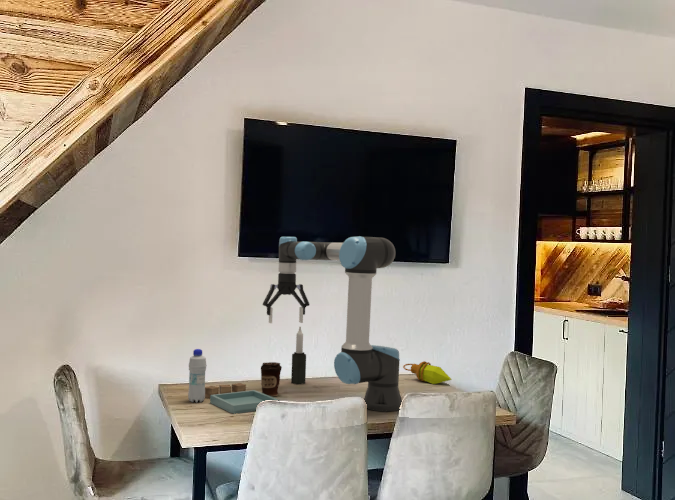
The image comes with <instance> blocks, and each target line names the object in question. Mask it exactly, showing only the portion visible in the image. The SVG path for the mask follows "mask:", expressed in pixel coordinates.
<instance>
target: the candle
mask: <svg viewBox="0 0 675 500" xmlns="http://www.w3.org/2000/svg"><path fill="white" fill-rule="evenodd" d="M298 327H299V328H298V331H297V333H296V335H295V336H296V338H295V339H296V341H295V342H296V343H295V351H294V352H293V353H292V355H291V374H290V375H291V379H290V381H291V384H294V385H304V384H306V378H307V377H306V375H307V372H306V371H307V366H306V365H307V354H306V353H305V352H304V350H303V349H304V333H303V331H302V326H298Z"/></svg>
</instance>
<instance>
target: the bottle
mask: <svg viewBox="0 0 675 500" xmlns="http://www.w3.org/2000/svg"><path fill="white" fill-rule="evenodd" d="M206 370H207V358H206V357H205V356H203V350H202V349H201V348H196V349H194V350H193V351H192V356H191V357H190V358H189V361H188V371H189V375H188V377H189V380H188V384H189V385H188V393H187V395H188V401H189V402H191V403H194V401H195V403H197V404H198V401H199V403H202V402H204V401H205V399H206V398H205V387H206Z"/></svg>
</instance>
